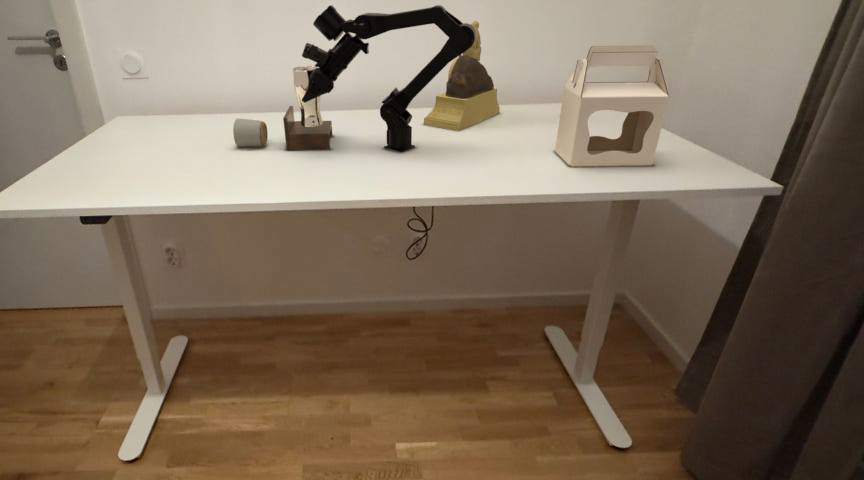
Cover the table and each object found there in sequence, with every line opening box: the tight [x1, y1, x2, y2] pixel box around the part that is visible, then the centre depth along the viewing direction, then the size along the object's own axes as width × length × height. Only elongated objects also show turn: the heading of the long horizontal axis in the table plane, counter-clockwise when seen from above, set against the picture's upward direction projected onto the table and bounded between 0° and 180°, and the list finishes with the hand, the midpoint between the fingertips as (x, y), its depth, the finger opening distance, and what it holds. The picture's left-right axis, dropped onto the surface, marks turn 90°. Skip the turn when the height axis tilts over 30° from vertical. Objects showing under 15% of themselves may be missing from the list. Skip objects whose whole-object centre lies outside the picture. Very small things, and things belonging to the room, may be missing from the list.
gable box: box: [554, 45, 670, 168], centre depth 136 cm, size 22×13×28 cm, turn 93°
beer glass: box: [292, 65, 324, 127], centre depth 145 cm, size 7×7×15 cm
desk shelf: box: [282, 105, 333, 151], centre depth 153 cm, size 12×14×9 cm
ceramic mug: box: [232, 118, 269, 148], centre depth 152 cm, size 11×8×8 cm
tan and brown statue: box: [423, 20, 501, 132], centre depth 172 cm, size 28×13×30 cm, turn 144°
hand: (304, 98), depth 145 cm, fingers closed on beer glass, 6 cm apart
